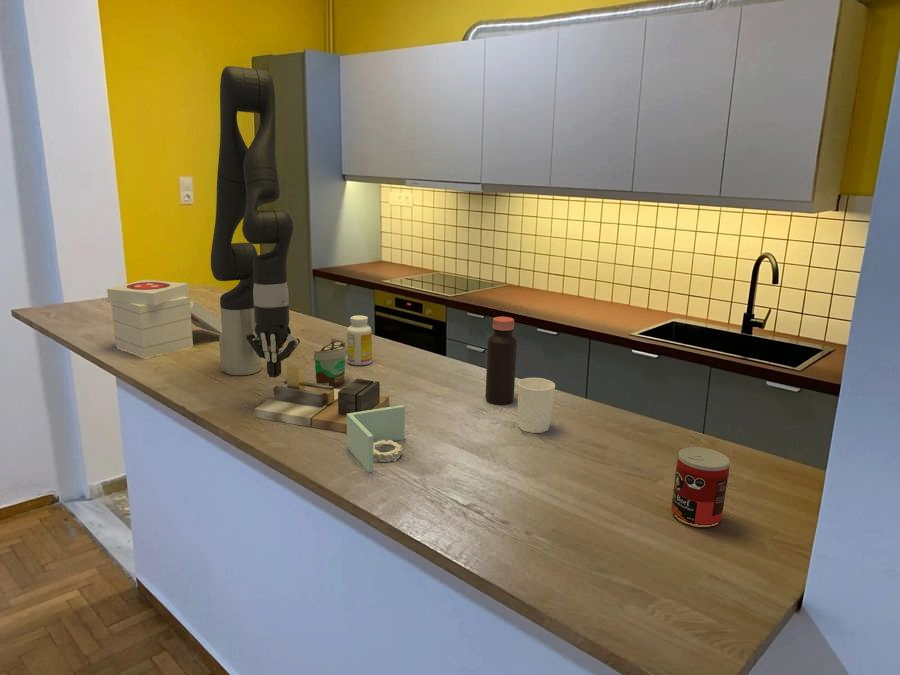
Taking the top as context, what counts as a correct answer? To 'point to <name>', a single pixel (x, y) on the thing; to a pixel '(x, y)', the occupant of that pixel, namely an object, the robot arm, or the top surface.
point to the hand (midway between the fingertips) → (274, 376)
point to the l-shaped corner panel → (376, 434)
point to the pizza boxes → (157, 317)
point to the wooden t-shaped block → (297, 382)
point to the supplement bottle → (359, 341)
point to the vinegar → (501, 362)
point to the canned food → (700, 485)
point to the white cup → (535, 404)
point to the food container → (331, 363)
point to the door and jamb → (322, 405)
